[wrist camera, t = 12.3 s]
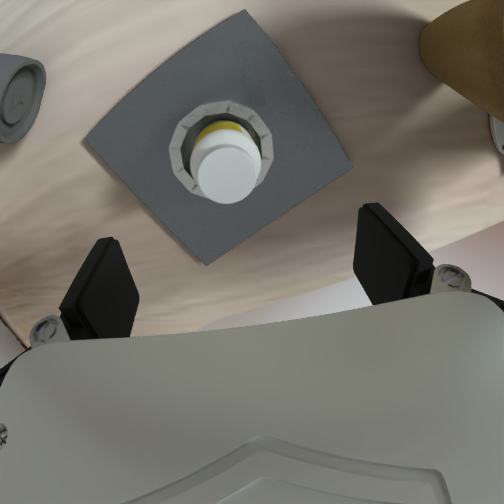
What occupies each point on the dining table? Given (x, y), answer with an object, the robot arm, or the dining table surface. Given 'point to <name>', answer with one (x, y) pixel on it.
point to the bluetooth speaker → (19, 95)
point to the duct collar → (210, 109)
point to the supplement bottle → (225, 161)
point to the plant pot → (469, 52)
